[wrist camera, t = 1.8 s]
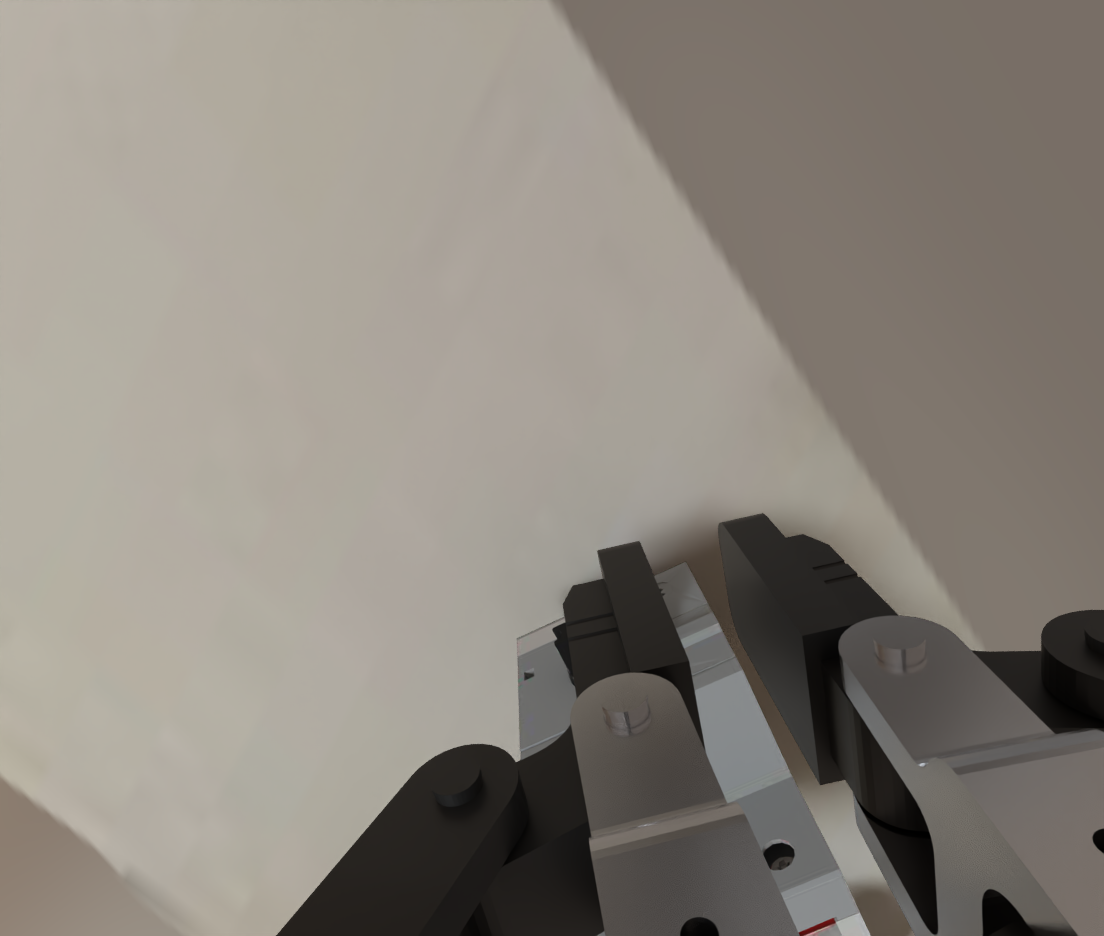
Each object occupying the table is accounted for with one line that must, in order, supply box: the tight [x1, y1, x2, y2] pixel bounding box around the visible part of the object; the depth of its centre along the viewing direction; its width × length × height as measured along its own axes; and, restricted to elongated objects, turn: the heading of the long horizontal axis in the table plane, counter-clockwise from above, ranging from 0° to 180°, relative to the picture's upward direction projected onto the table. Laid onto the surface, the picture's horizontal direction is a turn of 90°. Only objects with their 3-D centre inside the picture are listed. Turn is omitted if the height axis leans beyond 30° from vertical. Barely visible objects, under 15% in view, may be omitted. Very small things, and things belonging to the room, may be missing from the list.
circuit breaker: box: [517, 562, 871, 936], centre depth 28 cm, size 8×14×15 cm, turn 26°
